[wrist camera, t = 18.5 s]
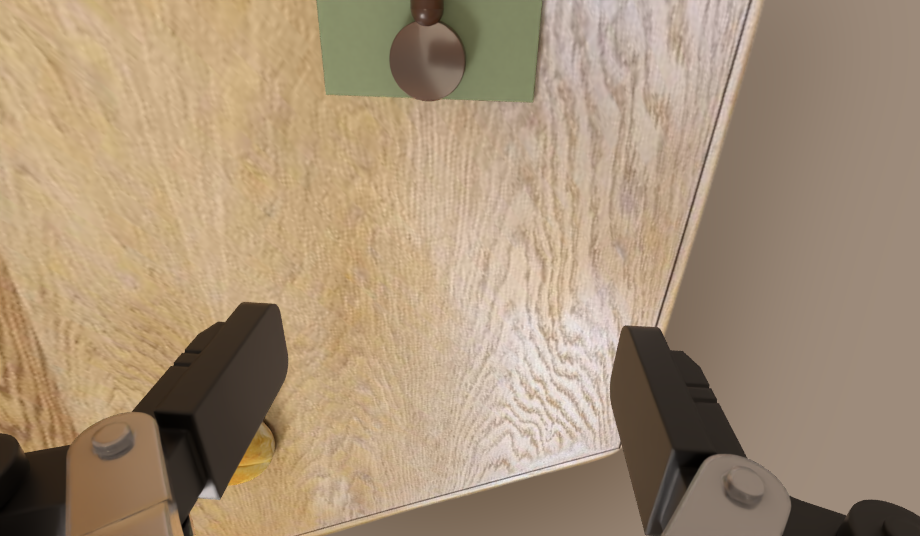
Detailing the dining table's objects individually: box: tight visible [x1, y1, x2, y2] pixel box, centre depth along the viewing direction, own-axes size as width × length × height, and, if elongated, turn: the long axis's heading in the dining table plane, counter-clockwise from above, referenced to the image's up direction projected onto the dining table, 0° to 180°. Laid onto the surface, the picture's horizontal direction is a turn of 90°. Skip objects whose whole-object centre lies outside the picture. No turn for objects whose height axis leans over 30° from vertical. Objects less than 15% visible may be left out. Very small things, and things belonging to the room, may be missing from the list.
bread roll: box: [228, 422, 275, 485], centre depth 51 cm, size 8×9×4 cm
